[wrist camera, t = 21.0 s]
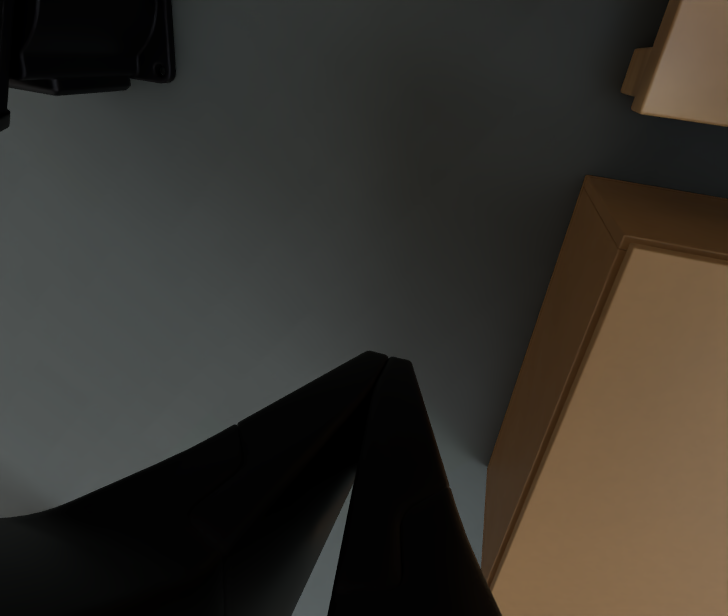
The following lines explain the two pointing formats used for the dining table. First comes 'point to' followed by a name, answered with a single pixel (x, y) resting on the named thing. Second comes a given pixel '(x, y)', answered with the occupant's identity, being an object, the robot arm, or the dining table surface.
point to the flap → (635, 458)
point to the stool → (684, 65)
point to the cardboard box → (583, 324)
